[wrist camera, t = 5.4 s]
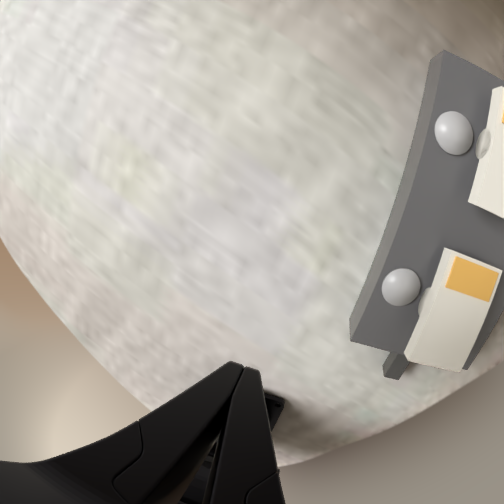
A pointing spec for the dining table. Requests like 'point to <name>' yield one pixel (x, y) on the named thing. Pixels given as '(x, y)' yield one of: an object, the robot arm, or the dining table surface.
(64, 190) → the dining table surface
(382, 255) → the switch panel
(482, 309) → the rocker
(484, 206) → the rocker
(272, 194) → the dining table surface
